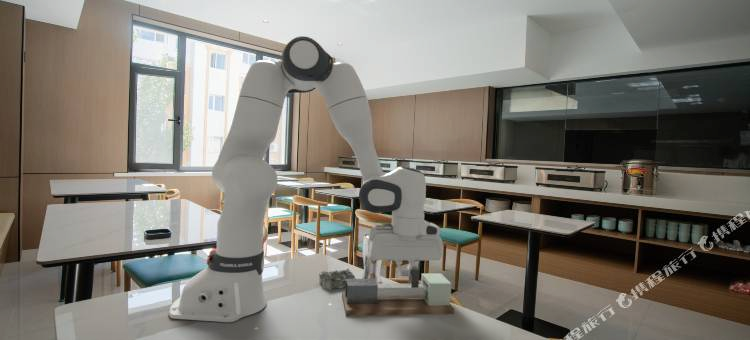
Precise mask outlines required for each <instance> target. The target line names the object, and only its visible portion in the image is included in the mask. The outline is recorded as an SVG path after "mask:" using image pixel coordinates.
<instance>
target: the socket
mask: <svg viewBox="0 0 750 340" xmlns="http://www.w3.org/2000/svg"><path fill="white" fill-rule="evenodd" d="M420 277H421V278H420V283H427V284H428V297H427V298H424V300H425V301H426V302H427V304H428V305H429V306H433V305H450V304H451V297H452V296H451V295H452V283H451V281H449V279H447V277H445V276H444V274H442V273H439V272H438V273H432V272H431V273H426V272H425V273H421V276H420Z"/></svg>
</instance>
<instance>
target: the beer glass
mask: <svg viewBox="0 0 750 340" xmlns="http://www.w3.org/2000/svg"><path fill="white" fill-rule="evenodd" d="M369 236H370V232H369V233H364V234H363V242H362V260H363V261H362V263H363V275H362V278H361V279H375V280H376V283H377V284H381V283H382V281H381V280H382V279H381V269H382V263H383V260H372V259H371V257H370V256H369V248H370V243H371V240H370V237H369Z"/></svg>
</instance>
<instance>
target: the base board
mask: <svg viewBox="0 0 750 340" xmlns="http://www.w3.org/2000/svg"><path fill="white" fill-rule="evenodd" d="M341 298H342V303H343V309H344V314H345V316H346V317H356V316H357V317H362V316H366V317H367V316H408V315H409V316H410V315H411V316H413V315H414V316H415V315H423V316H425V315H454V314H455V307H454V306H453V305H452V304H451V303H450V305H433V306H429V305H428V304H427V302H426V301H425V300H424V298H393V299H377V304H347V303H346V298H345V291H341Z"/></svg>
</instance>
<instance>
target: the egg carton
mask: <svg viewBox="0 0 750 340" xmlns="http://www.w3.org/2000/svg"><path fill="white" fill-rule="evenodd" d="M318 277H319V279H318V280H319V282H318V283H319V285H322V289H326V290H332V289H333V288H338V289H342V288H343V287H346V279H357V277H355V275H354V274H353V272H352V271H351V270H350V269H349V268H347V269H343V270H339V271H338V269H337V270H334V271H332V270H331V271H325V270H324V271H321V272H320V273H318Z"/></svg>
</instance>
